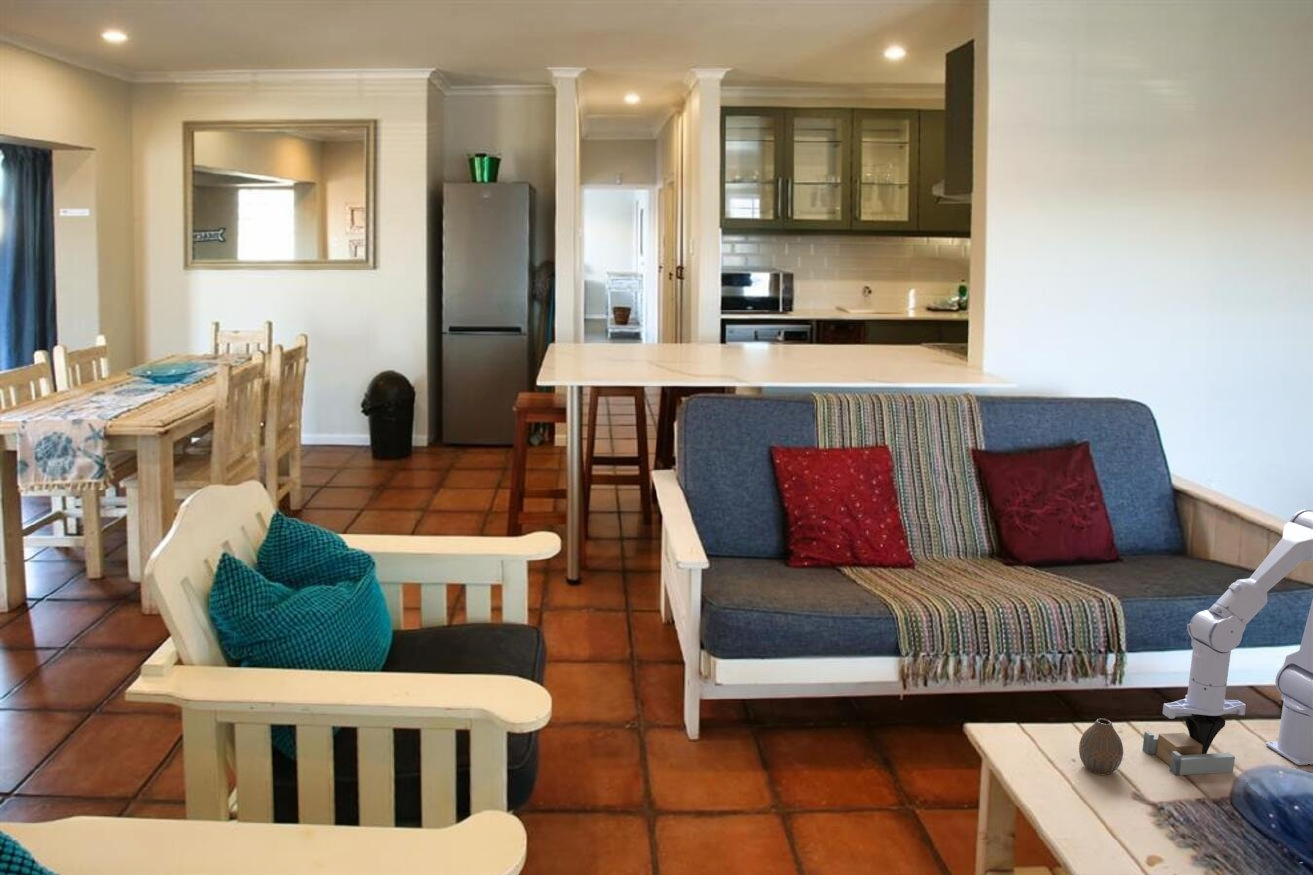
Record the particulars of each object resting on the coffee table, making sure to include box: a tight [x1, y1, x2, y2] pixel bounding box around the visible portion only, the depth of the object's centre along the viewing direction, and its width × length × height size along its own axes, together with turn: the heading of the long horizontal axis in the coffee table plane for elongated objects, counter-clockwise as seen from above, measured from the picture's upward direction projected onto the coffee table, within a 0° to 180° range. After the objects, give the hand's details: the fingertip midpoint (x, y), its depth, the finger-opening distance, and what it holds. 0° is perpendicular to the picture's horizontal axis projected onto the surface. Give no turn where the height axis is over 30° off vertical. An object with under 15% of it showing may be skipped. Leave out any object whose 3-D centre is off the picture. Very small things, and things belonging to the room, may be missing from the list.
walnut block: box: [1155, 732, 1203, 766], centre depth 178 cm, size 5×5×4 cm
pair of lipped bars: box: [1142, 730, 1236, 776], centre depth 178 cm, size 11×9×4 cm
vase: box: [1078, 718, 1124, 776], centre depth 174 cm, size 7×7×9 cm
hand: (1198, 753), depth 178 cm, fingers closed
